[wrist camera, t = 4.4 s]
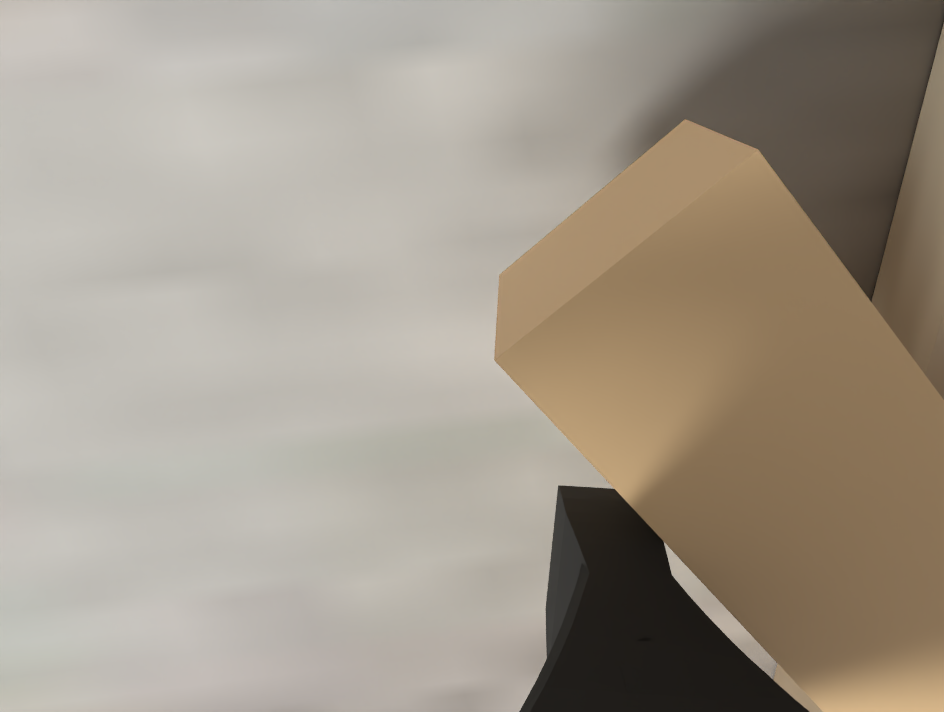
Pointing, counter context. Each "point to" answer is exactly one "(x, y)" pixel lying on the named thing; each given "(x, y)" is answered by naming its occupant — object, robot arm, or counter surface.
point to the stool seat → (913, 263)
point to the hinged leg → (747, 412)
